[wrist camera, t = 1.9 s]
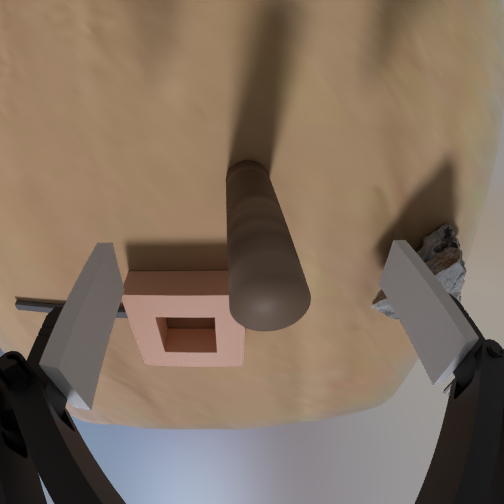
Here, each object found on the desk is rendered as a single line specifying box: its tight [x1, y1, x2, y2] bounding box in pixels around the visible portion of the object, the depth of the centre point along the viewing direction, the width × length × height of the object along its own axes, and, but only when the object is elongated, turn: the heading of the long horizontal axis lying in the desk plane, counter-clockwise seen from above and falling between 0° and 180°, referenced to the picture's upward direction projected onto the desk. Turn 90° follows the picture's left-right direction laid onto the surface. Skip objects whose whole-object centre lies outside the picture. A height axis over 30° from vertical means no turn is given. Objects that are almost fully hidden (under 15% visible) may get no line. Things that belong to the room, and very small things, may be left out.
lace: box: [15, 301, 128, 318], centre depth 26 cm, size 1×16×1 cm, turn 88°
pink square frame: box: [122, 271, 245, 367], centre depth 26 cm, size 10×10×3 cm
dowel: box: [226, 160, 311, 331], centre depth 16 cm, size 3×3×12 cm
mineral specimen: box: [372, 224, 466, 319], centre depth 24 cm, size 10×8×10 cm
